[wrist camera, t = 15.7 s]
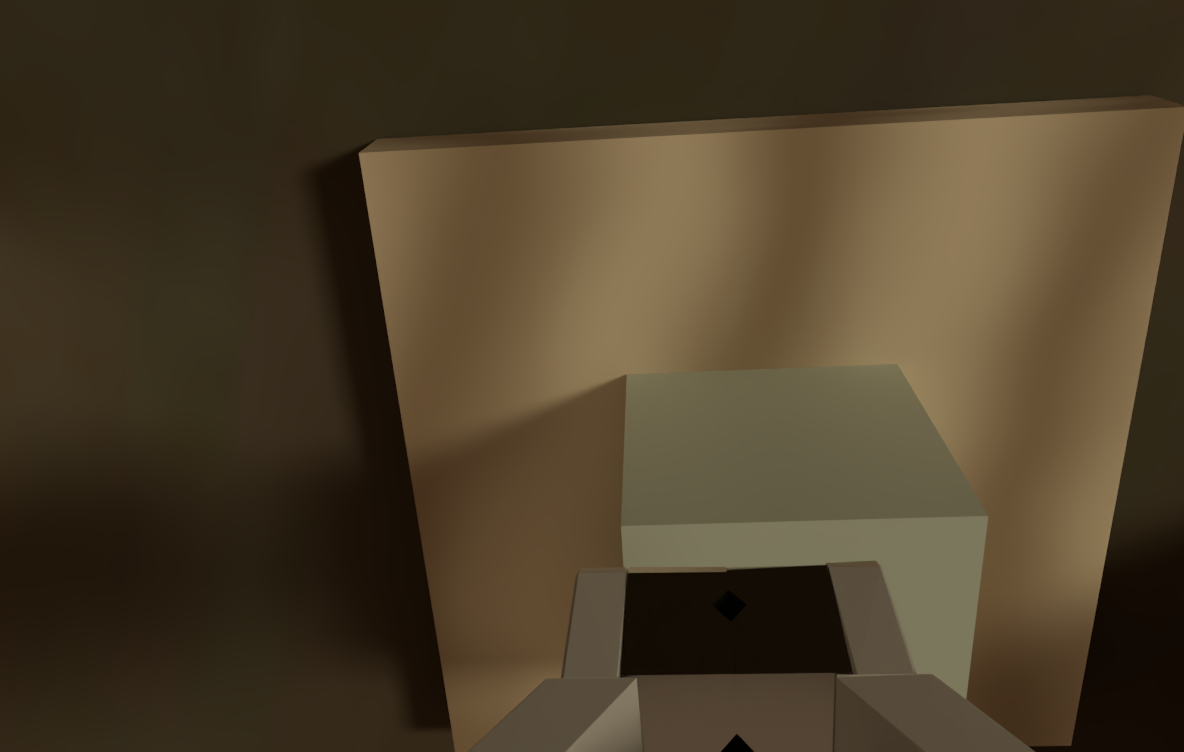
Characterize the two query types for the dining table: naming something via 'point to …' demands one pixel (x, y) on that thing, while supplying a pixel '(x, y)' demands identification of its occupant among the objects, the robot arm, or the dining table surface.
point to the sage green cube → (808, 489)
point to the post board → (770, 343)
